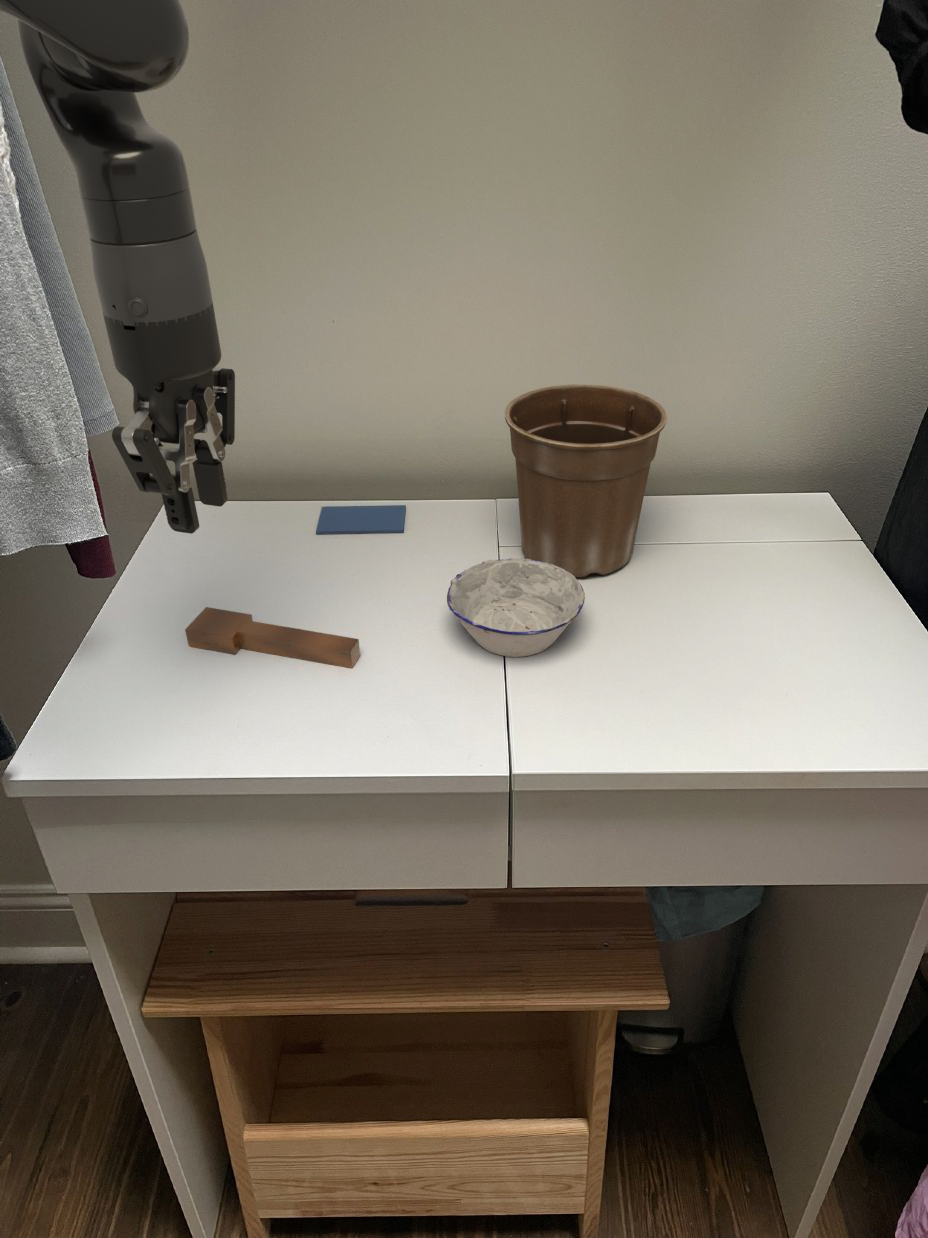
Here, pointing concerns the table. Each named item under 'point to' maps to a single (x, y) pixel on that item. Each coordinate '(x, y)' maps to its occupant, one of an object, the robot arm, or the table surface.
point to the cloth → (361, 519)
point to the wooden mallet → (268, 638)
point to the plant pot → (582, 472)
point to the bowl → (515, 604)
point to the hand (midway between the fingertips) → (200, 515)
